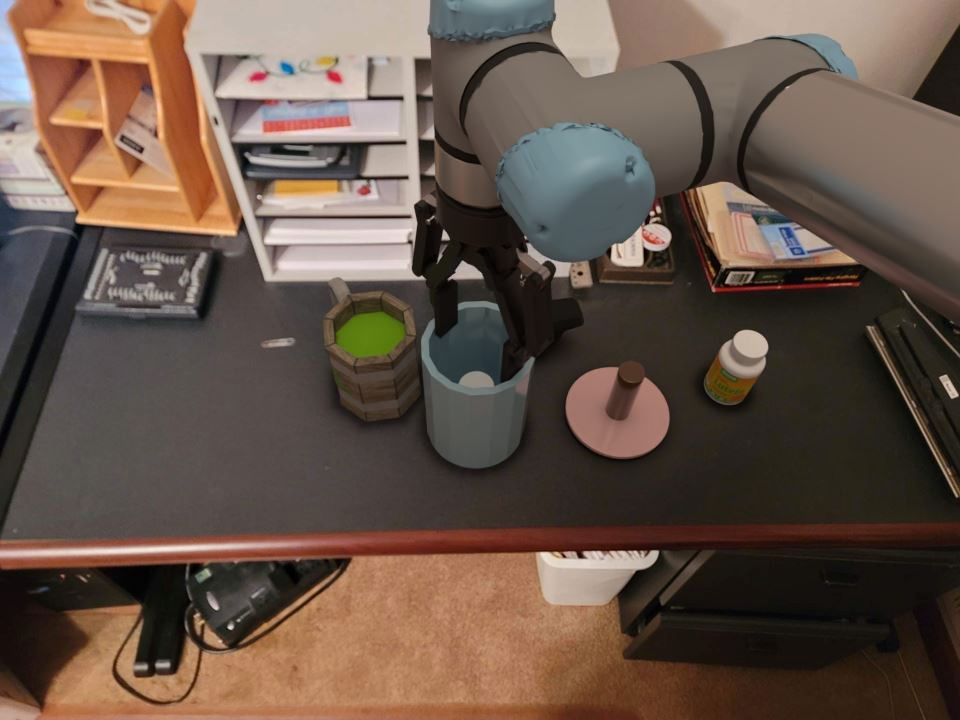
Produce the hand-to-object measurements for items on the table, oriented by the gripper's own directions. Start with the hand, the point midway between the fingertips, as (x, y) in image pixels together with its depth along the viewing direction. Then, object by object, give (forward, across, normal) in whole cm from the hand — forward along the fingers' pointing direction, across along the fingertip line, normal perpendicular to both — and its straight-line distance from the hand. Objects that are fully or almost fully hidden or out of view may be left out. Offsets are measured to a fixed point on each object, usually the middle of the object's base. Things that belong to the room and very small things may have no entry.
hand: (478, 351), depth 72 cm
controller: (+16, +2, -13) cm, 20 cm away
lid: (+15, -12, -13) cm, 23 cm away
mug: (+16, +15, +3) cm, 22 cm away
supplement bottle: (+16, -20, -25) cm, 36 cm away
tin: (+15, 0, 0) cm, 15 cm away
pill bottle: (+15, 0, 0) cm, 15 cm away
